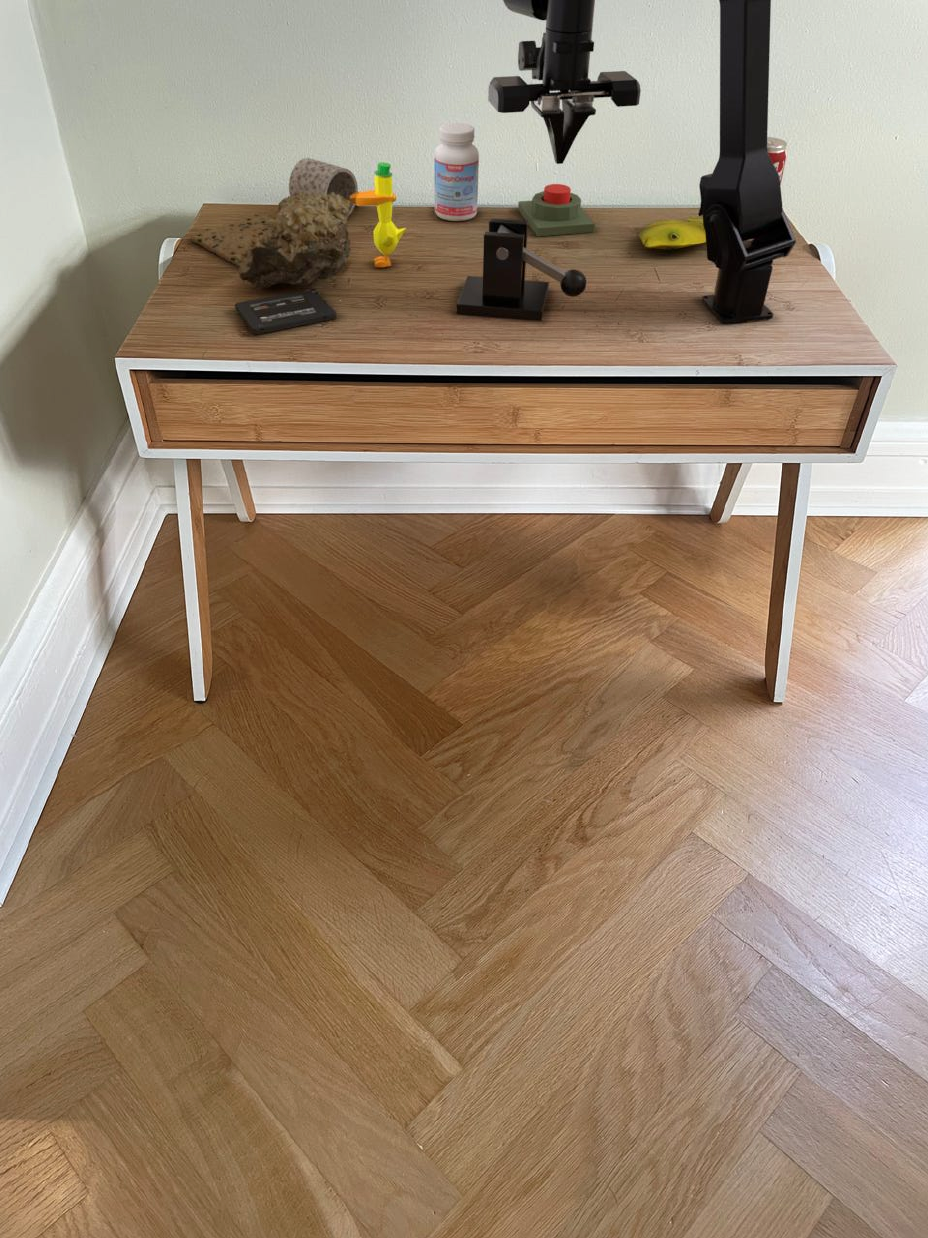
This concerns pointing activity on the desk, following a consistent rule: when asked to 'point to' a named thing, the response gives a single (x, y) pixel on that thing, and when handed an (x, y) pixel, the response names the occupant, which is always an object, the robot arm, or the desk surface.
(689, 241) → the fish
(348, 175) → the speckled mug
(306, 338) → the desk surface
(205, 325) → the desk surface
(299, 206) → the mineral specimen
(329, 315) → the solid state drive
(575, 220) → the button block
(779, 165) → the soda can
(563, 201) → the button
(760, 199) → the robot arm
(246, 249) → the cookie
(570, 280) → the lever
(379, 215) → the toy figure
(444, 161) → the pill bottle
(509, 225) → the bracket
